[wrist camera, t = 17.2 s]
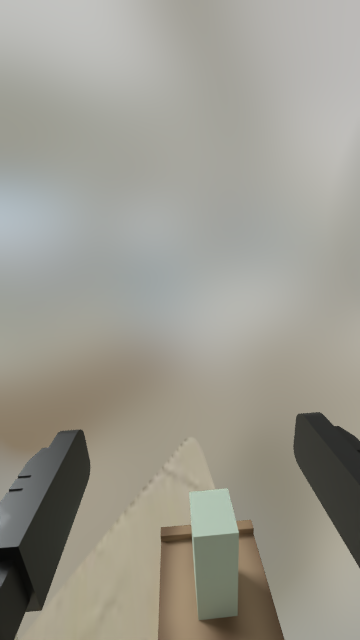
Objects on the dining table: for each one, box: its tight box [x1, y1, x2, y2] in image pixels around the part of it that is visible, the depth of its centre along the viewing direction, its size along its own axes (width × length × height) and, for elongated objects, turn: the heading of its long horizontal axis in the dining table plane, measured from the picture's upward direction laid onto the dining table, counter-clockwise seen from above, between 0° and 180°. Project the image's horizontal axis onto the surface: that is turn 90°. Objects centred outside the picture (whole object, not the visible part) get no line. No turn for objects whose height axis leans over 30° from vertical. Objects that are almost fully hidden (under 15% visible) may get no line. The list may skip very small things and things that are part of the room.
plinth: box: [158, 520, 284, 640], centre depth 26 cm, size 12×12×4 cm
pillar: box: [189, 489, 239, 620], centre depth 24 cm, size 4×4×12 cm
